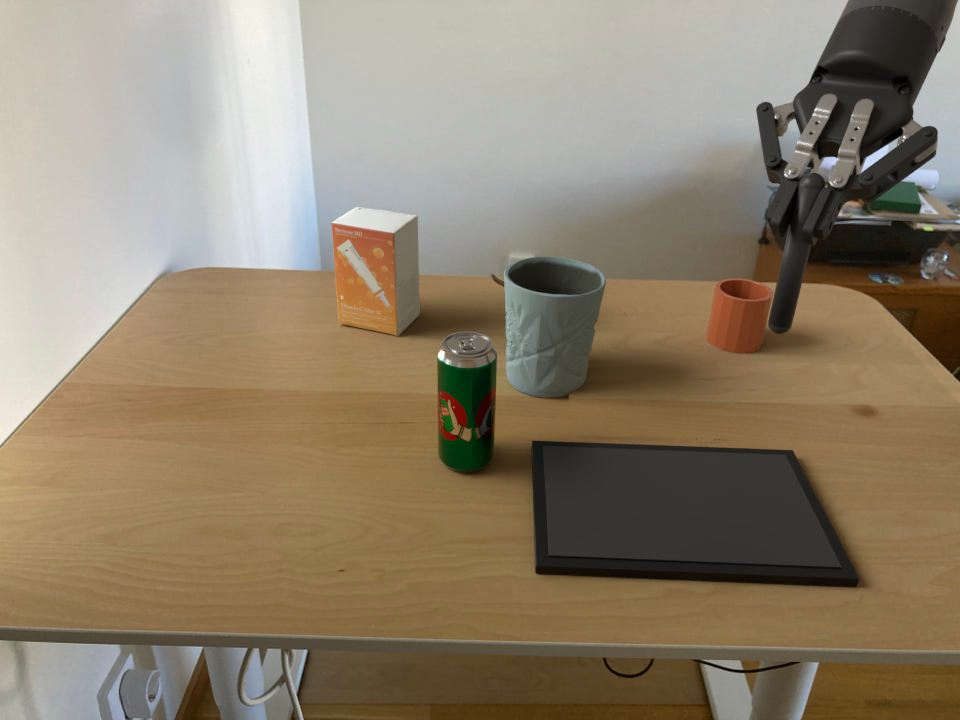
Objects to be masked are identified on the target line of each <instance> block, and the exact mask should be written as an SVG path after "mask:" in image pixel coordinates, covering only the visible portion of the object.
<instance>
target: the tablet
mask: <svg viewBox="0 0 960 720" xmlns="http://www.w3.org/2000/svg"><path fill="white" fill-rule="evenodd" d="M530 448H531V476H532V504H533V505H532V509H533V510H532V511H533V513H532V514H533V540H534V543H533V544H534V545H533V546H534V573H535V574H536V575H560V576H581V577H582V576H585V577H606V578H607V577H608V578H627V579H628V578H629V579H630V578H632V579H655V580H675V581H677V580H679V581H701V582H723V583H724V582H726V583H751V584H773V585H798V586H821V587H843V588H844V587H845V588H846V587H847V588H857V587H858V586H859V585H858V584H859V581H860V577H859V575H858V573H857V570H856V569H855V567H854V565H853V563H852V562H851V559H850V557H849V556H848V554H847V551H846V550H845V548H844V546H843V544H842V541H841V540H840V538H839V536H838V534H837V532H836V530H835V529H834V526H833V525H832V523H831V521H830V519H829V517H828V515H827V513H826V511H825V509H824V507H823V506H822V505H823V504H821V502H820V499H819V498H818V496H817V493H816V491H815V490H814V488H813V485H812V484H811V483H810V480H809V479H808V477H807V475H806V473H805V471H804V469H803V467H802V465H801V462H800V461H799V460H798V458H797V455H796V453H795V451H794V449H775V448H774V449H773V448H747V447H746V448H745V447H744V448H743V447H724V446H723V447H721V446H720V447H719V446H697V445H696V446H691V445H667V444H665V445H664V444H661V445H660V444H641V443H640V444H638V443H615V442H614V443H613V442H612V443H611V442H608V443H607V442H586V441H585V442H584V441H561V440H560V441H558V440H533V439H532V440H531V447H530Z"/></svg>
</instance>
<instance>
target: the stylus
mask: <svg viewBox="0 0 960 720" xmlns="http://www.w3.org/2000/svg"><path fill="white" fill-rule="evenodd" d="M822 187H826V180H825V178H824V177H823V175H822V174H820V173H817V172H814V173H808V174H806V175H804V176H803V177H802V178H801V180H800V181H799V185H798V190H797V194H796V199H795V203H794V208H793V212H792V217H791V221H790V225H789V227H788V229H787V235H786V238H785V239H786V240H785V244H784V248H783V252H782V258H781V262H780V266H779V271H778V275H777V280H776V285H775V289H774V292H773V297H772V301H771V306H770V310H769V315H768V319H767V325H768V328H769V330H770V331H771V332H772V333H774V334H777V335H783V334H786V333H788V332H789V331H790V330H791V328H792V325H793V323H794V319H795V315H796V311H797V306H798V301H799V298H800V294H801V289H802V285H803V281H804V277H805V272H806V268H807V264H808V261H809V260H808V259H809V257H810V253H811V252H810V251H811V248H812V245H810V244H806V243H804V241H803V236H802V230H803V227H804V225H805V223H806V220H807V218H808V216H809V214H810V212H811V210H812V208H813V206H814V204H815V202H816V199H817V197H818V195H819V193H820V191H821V189H822Z"/></svg>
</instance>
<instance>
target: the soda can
mask: <svg viewBox="0 0 960 720" xmlns="http://www.w3.org/2000/svg"><path fill="white" fill-rule="evenodd" d="M436 361H437V362H436V363H437V364H436V366H437V367H436V369H437V371H436V373H437V374H436V375H437V377H436V378H437V443H438V444H437V451H438V452H437V454H438V458H439V460H440V462H441V463H442V464H444V465H445V466H446V467H447V468H449V469H451V470H452V471H455V472H459V473H474V472H478V471H480V470H482V469H484V468H485V467H487V466H488V465H489V464H490V463H491V462H492V460H493V459H494V456H495V435H496V434H495V433H496V432H495V431H496V429H495V428H496V406H497V405H496V403H497V374H498V373H497V372H498V352H497V351H496V349H495V348H494V342H493V340H492V339H491V338H490V337H489V336H488V335H486V334H484V333H480V332H476V331H458V332H453V333H450V334H448V335H446V336H445V337H444V338H442V341H441V346H440V348H439V349H438V350H437V354H436Z"/></svg>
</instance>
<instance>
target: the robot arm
mask: <svg viewBox="0 0 960 720" xmlns="http://www.w3.org/2000/svg"><path fill="white" fill-rule="evenodd" d="M958 2H959V0H847V2H846V4H845V6H844V8H843V10H842V12H841V14H840V16H839V18H838V20H837V22H836V25H835V26H834V29H833V30H832V33H831V34H830V37H829V39H828V41H827V43H826V45H825V47H824V48H823V51H822V53H821V55H820V57H819V59H818V61H817V63H816V65H815V68H814V70H813V72H812V74H811V76H810V79H809V81H808V83H807V84H806V86H804V87H803V88H802V89H801V90H800V91H798V92H797V93H796V95H795V96H794V97H793V100H792V101H791V102H788V103H784V104H780V105H776V106H773V104H772V103H771V102H770V101H763V102H761V103H759V104H758V105H757V106H756V109H755V111H756V118H757V124H758V131H759V139H760V144H761V150H762V156H763V157H762V158H763V162H764V168H765V170H766V175H767V179H768V181H769V182H770V183H772V184H778V187H777V189H776V190H775V191H776V192H775V194H774V196H773V197H772V200H771V202H770V204H769V205H768V208H767V210H766V220H767V224H768V227H769V228H770V231H771V235H772V236H773V237H778V238H784V237H785V235H786V233H787V232H788V230H789V225H790V221H791V217H792V212H793V208H794V203H795V199H796V194H797V190H798V185H799V181H800V180H801V178H802V177H803V176H804V175H806V174H808V173H817V172H818V171H819V169H820V167H821V166H822V164H823V162H824V160H825V158H836V161H835V164H834V166H833V169H832V172H831V174H830V176H829V180H828V184H827V186H825V187H822V189H821V191H820V193H819V195H818V197H817V199H816V202H815V204H814V206H813V208H812V210H811V212H810V214H809V216H808V218H807V220H806V223H805V225H804V227H803V230H802V236H803V241H804V243H806V244H810V245H811V246H815V245H816V244H817V242H818V240H822V241H824V240H826V238H828V236H830V234H831V232H832V230H833V227H835V223H836V221H837V219H838V217H839V215H840V214H841V210H842V208H843V207H844V205H846V203H849V202H850V201H855V200H856V201H857V200H861V202H863V203H866V204H869V203H873V202H875V201H876V200H878V199H879V198H880V197H881V196H883V195H884V194H886V193H887V192H888V191H890V190H891V189H893V188H894V187H895V186H897V185H898V184H899V183H901V182H903V181H904V180H905V179H906V178H908V177H909V176H910V175H912V174H913V173H915V172H916V171H918V169H920V168H921V167H923V166H924V165H926V164H927V163H928V162H929V161H931V160H932V159H933V158H935V157H936V155H937V149H938V140H939V138H938V137H939V130H938V128H936V127H935V126H933V125H925V126H922V125H921V124H920V123H918V122H917V121H915V120H914V113H915V112H914V105H915V103H916V100H917V98H918V96H919V94H920V93H921V90H922V88H923V85H924V84H925V81H926V79H927V78H928V75H929V73H930V70H931V68H932V66H933V64H934V62H935V59H936V58H937V55H938V54H939V53H940V52H941V50H942V48H943V46H944V43H945V42H946V40H947V38H946V37H947V34H948V32H949V29H950V27H951V24H952V23H953V19H954V15H955V11H956V8H957V5H958ZM793 120H795V122H796V125H797V129H798V131H799V134H800V137H799V138H798V140H797V142H796V145H795V150H794V152H793V154H792V155H791V158H790V159H789V161H787V160H785V159H783V155H782V150H781V142H780V138H781V137H784V135H785V133H787V131H788V129H789V124H790V123H791V121H793ZM897 139H898V140H897ZM896 140H897V141H896ZM894 141H896V146H895V147H894V148H892V149H891V150H890V151H888V152H887V153H885V155H883V156H882V157H881V158H879V159H878V160H876V161H875V162H874V163H872V164H871V165H870V166H868V167H867V168H866V169H864V170H863V168H864V166H865V163H866V160H867V158H869V157H870V156H872V155H873V154H875V153H877V152H878V151H880V150H881V149H883V148H884V147H886V146H888V145H890V144H891V143H893V142H894Z"/></svg>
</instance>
